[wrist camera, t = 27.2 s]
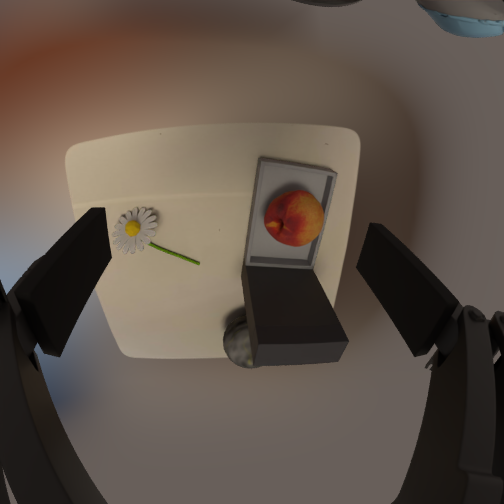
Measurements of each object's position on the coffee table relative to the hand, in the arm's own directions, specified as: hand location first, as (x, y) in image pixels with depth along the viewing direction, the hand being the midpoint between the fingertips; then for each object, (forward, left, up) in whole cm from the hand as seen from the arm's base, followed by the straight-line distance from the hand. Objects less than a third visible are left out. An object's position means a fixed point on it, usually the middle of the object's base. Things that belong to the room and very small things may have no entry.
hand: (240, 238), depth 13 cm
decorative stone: (+31, +7, -28) cm, 42 cm away
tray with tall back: (+10, +10, -27) cm, 31 cm away
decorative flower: (+13, -9, -28) cm, 32 cm away
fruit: (+7, +10, -27) cm, 29 cm away
